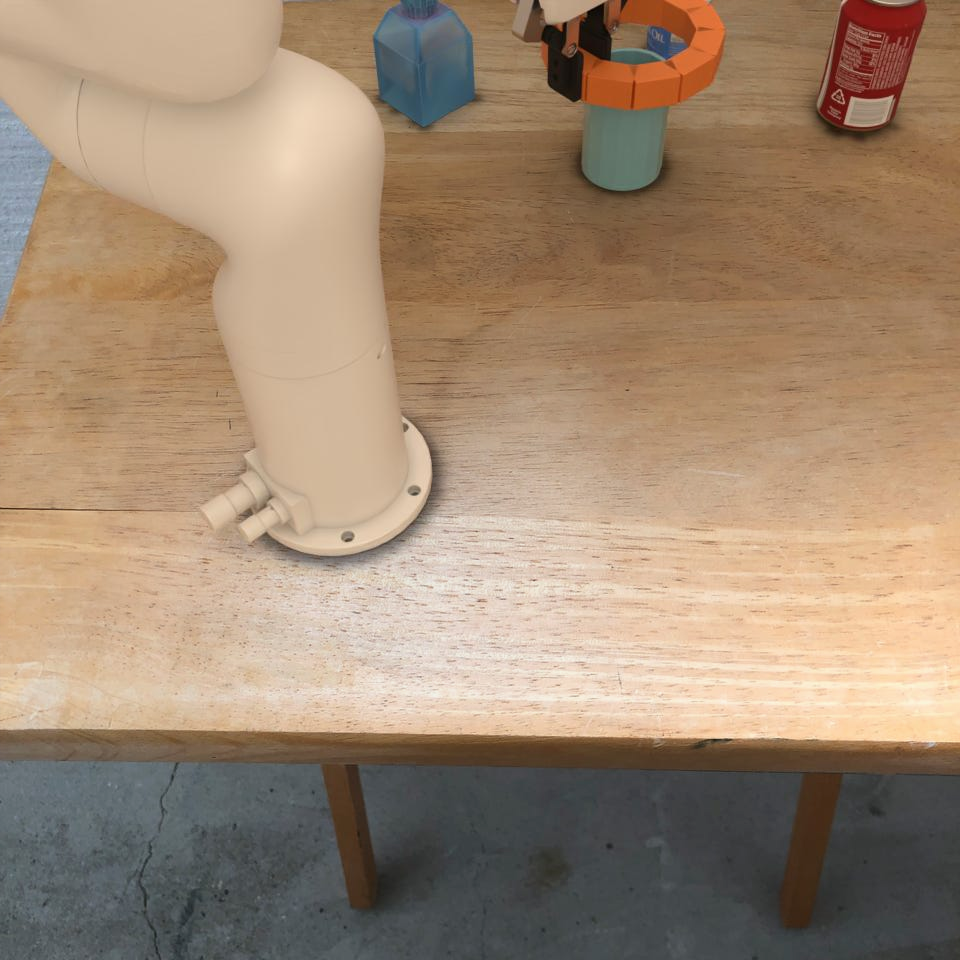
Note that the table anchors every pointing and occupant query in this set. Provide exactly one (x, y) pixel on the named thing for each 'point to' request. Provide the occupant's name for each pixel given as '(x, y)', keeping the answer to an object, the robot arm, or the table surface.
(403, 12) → the perfume bottle
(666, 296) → the table surface
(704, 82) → the ring
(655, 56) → the cup
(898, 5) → the soda can
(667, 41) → the pill bottle
